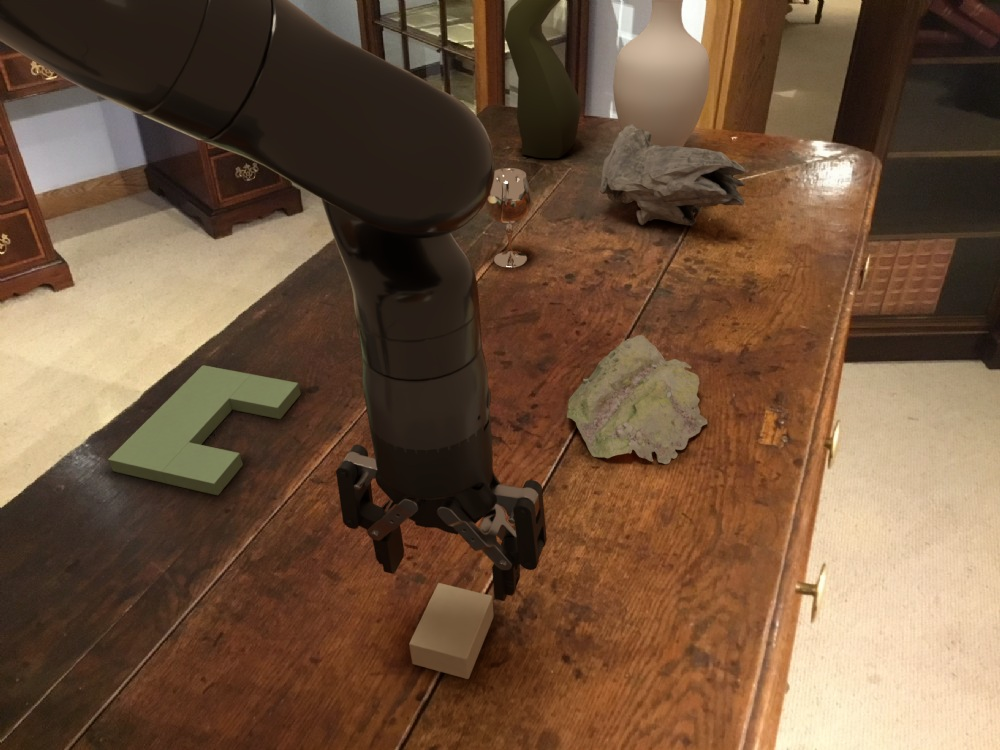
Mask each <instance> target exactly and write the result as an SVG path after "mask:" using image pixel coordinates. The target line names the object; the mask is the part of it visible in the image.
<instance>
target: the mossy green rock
mask: <svg viewBox="0 0 1000 750" xmlns="http://www.w3.org/2000/svg"><path fill="white" fill-rule="evenodd" d="M685 368H687V369H692V366H691V365H690V364H688V363H687V362H685V361H682V360H679V359H676V358H673V359H670V360H666V359H665V357H664V356H663V355H662V353H661V352H660V351H659V350H658V348H657V347H656V346H655V344H653V343H652V342H650V340H649V339H648V338H647V337H646V336H645V335H644V334H638V335H635V336H634V337H630V338H626V340H624V341H622V342H620V343H619V345H618V346H616V347H615V348H614V349H613V350H611V351H609V353H608V355H605V356H603V358H602V359H601V360H600V361H599V362H598V364H597V365H596V367H595V369H594V371H593V372H592V373H591V374H590V376H589V377H588V378H583V379H582V383H580V385H579V386H578V388H576V389H575V391H574V392H573V394H572V395H571V396H570V397H569V399H568V403H567V412H566V419H571V420H572V421H574V422H575V425H576V427H577V429H578V432H579V433H580V435H581V437H582V440H583V441H584V442H585V445H586V447H587V449H588V451H589V453H590V455H591V456H592V457H594V458H605V459H610V458H612V457H615V456H619V455H625V454H632V451H634V452H635V454H636V455H637V456H638V457H639V458H640V459H641V458H642V459H646V460H647V461H649V462H654V459H653V453H654V452H655V454H656V459H657V462H658V463H661V464H664V465H668V464H670V462H671V461H672V459H676V458H677V457H678V455H679V454H678V452H677V451H682V450H684V449H685V448H686V447H687V445H688V441H689V439H691V438H693V437H695V436H696V435H698V434H699V433H700V432H701V430H702V427H703V426H705V425H707V424H708V419H707V418H705V416H704V415H702V414H700V413H701V410H700V407H699V403H700V400H701V399H700V398H699V397H698V391H699V385H700V378H699V375H698V374H697V373H694V372H692V371H689V370H687V369H685ZM676 450H677V451H676Z"/></svg>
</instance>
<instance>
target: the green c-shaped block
mask: <svg viewBox="0 0 1000 750" xmlns="http://www.w3.org/2000/svg"><path fill="white" fill-rule="evenodd" d="M301 393H302V392H301V389H300V386H299V382H294V381H290V380H285V379H280V378H275V377H268V376H262V375H257V374H252V373H247V372H242V371H236V370H231V369H225V368H220V367H215V366H210V365H201V366H200V367H199V368H198V369H197V370H196V371H195V372H194V373H193V374H192V375H191V376H190V377H189V378H188V379H187V380H186V381H185V382H184V383H183V384H182V385H181V386H180V387H179V388H178V389H177V390H176V391H175V392H174V393H173V394H172V395H171V396H170V397H169V398H168V399H167V400H166V401H165V402H163V404H162V405H161V406H160V407H159V408H158V409H157V410H156V411H155V412H154V413H153V414H152V415H151V416H150V417H149V418H148V419H146V421H145V422H144V423H143V424H142V425H141V426H140V427H139V428H137V430H136V431H134V432H133V434H132V435H130V437H128V439H127V440H126V441H125V442H124V443H122V445H121V446H120V447H119V448H118V449H117V450H115V452H114V453H113V454H112V455H110V457H109V458H108V459H107V460H108V464H109V465H110V467H111V470H112V472H115V473H118V474H119V473H120V474H122V475H123V474H124V475H128V476H132V477H136V478H140V479H144V480H145V479H146V480H148V481H149V480H150V481H152V482H153V481H154V482H158V483H161V484H167V485H171V486H175V487H180V488H183V489H187V490H191V491H197V492H200V493H205V494H209V495H214V496H219V495H220V494H221V492H222V491H223V490H224V489H225V488H226V487H227V485H228V484H229V483H230V482H231V480H232V479H233V478H234V477H235V476H236V475H237V473H238V472H239V471H240V469H242V467H243V466H244V464H243V460H242V457H241V453H240V452H237V451H231V450H228V449H222V448H217V447H214V446H213V447H212V446H208V445H204V444H203V443H204V442H205V441H206V440H207V438H208V437H210V435H211V434H212V433H213V432H214V431H215V430H216V429H217V428H218V426H219V425H220V424H221V423H223V421H224V420H225V419H226V418H227V416H228V415H230V413H231V412H232V411H236V412H240V413H241V412H242V413H247V414H253V415H257V416H262V417H267V418H271V419H275V420H276V419H277V420H281V419H282V418H283V417H284V416H285V414H286V413H287V412H288V411H289V410H290V408H291V407H292V406H293V404H294V403H295V402H296V401H298V398H299V397H300V396H301Z"/></svg>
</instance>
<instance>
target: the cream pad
mask: <svg viewBox="0 0 1000 750" xmlns="http://www.w3.org/2000/svg"><path fill="white" fill-rule="evenodd" d="M493 600H494V596H493V595H492V594H491V595H490V594H487V593H482V592H477V591H474V590H471V589H466V588H462V587H457V586H454V585H449V584H444V583H441V582H438V583H437V585H436V587H435V588H434V591H433V593H432V595H431V597H430V599H429V601H428V604H427V605H426V608H425V610H424V612H423V613H422V616H421V618H420V620H419V622H418V624H417V626H416V628H415V630H414V633H413V635H412V637H411V638H410V641H409V643H408V645H409V653H410V657H411V663H412V665H414V666H419V667H421V668H426V669H429V670H433V671H436V672H440V673H444V674H447V675H452V676H455V677H458V678H462V679H465V680H469V679H470V677H471V674H472V672H473V669H474V667H475V665H476V662H477V659H478V657H479V654H480V652H481V649H482V647H483V645H484V642H485V639H486V637H487V635H488V632H489V629H490V627H491V625H492V622H493V620H494V617H495V616H494V601H493Z"/></svg>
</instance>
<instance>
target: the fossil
mask: <svg viewBox="0 0 1000 750" xmlns="http://www.w3.org/2000/svg"><path fill="white" fill-rule="evenodd" d="M650 141H651V134H650V132H646V131H644V130H642V129H637V128H636V127H634V125H629V126H626V127H625V128H624V130H623V131H622V130H621V131H620V132H619V133H618V134H617V136H616V138H615V140H614V142H613V144H612V148H611V151H610V153H609V154H608V155H607V157H605V159H604V160H603V164H602V165H603V166H602V171H601V175H600V176H601V177H600V187H599V192H600V193H601V194H602V195H605V194H606V195H607V199H609V200H610V201H611V202H612V203H613V204H614V205H619V204H621V203H623V204H629V203H631V202H636V204H637V207H639V209H640V210H636V217H637V221H638V223H639V225H640V226H645V225H646V223H648V221H649V222H652V221H653V220H659V221H660V220H661V221H664V222H665V221H666V222H671V223H674V224H678V225H683V226H684V225H685V226H690V227H692V226H693V225H694V224H695V223H696V222H697V220H696V218H695V217H694V214H698V213H701V209H700V208H707V207H717V206H718V205H722V206H744V205H745V204H746V203H745V199H744V198H743V196H742V194H741V193H740V192H739V191H738V188H739V187H745V186H746V183H745V182H744V181H742V180H741V179H738V178H736V177H735V176H736V175H743V174H745V173H746V170H745V168H744V167H743V165H741V164H740V163H738V162H737V160H731V159H730V158H729V157H727V156H726V154H725V153H723V152H721V151H716V150H711V149H706V148H700V147H688V146H687V147H685V146H683V147H677V146H668V147H661V146H658V145H653V144H650Z"/></svg>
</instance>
